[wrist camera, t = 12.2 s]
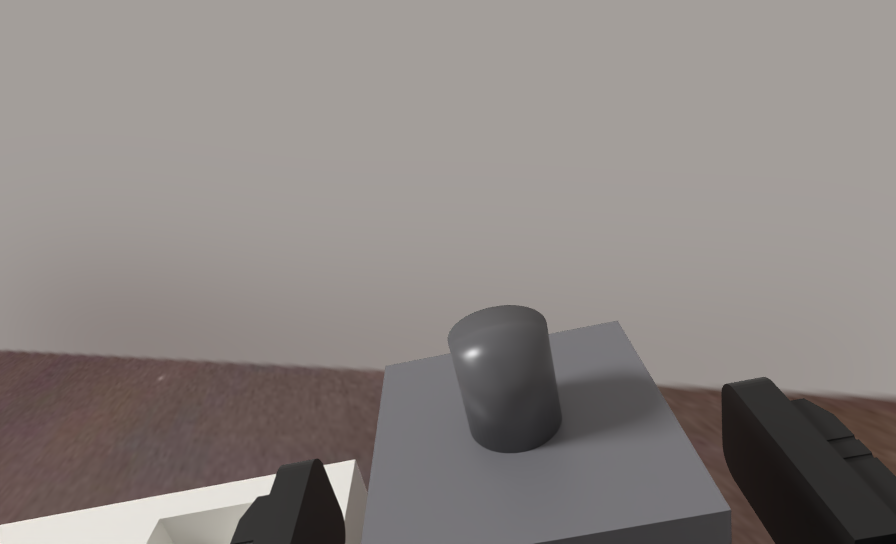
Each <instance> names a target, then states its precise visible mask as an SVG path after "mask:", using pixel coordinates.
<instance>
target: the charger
mask: <svg viewBox="0 0 896 544" xmlns="http://www.w3.org/2000/svg"><path fill="white" fill-rule="evenodd" d="M448 344H449V348H450V352H451V353H450V354H445V355H440V356H435V357H429V358H424V359H419V360H414V361H409V362H404V363H399V364H394V365H389V366H386V368H385V375H384V382H383V389H382V396H381V403H380V411H379V418H378V425H377V432H376V439H375V446H374V453H373V461H372V468H371V475H370V482H369V489H368V496H367V504H366V511H365V518H364V525H363V532H362V539H361V544H732V543H731V509H730V507H729V506H728V504H727V502H726V501H725V499H724V497H723V496H722V494H721V492H720V491H719V489H718V487H717V486H716V484H715V482H714V481H713V479H712V477H711V476H710V474H709V472H708V471H707V469H706V467H705V466H704V464H703V462H702V461H701V459H700V457H699V456H698V454H697V452H696V451H695V449H694V447H693V446H692V444H691V442H690V441H689V439H688V437H687V436H686V434H685V432H684V431H683V429H682V427H681V426H680V424H679V422H678V421H677V419H676V417H675V416H674V414H673V412H672V411H671V409H670V407H669V406H668V404H667V402H666V401H665V399H664V397H663V396H662V394H661V392H660V391H659V389H658V387H657V386H656V384H655V382H654V381H653V379H652V377H651V376H650V374H649V372H648V371H647V369H646V367H645V366H644V364H643V362H642V361H641V359H640V357H639V356H638V354H637V352H636V351H635V349H634V348H633V346H632V344H631V342H630V341H629V339H628V337H627V336H626V334H625V332H624V331H623V329H622V327H621V326H620V324H619V322H618V321H613V322H609V323H604V324H598V325H593V326H588V327H583V328H578V329H573V330H567V331H562V332H557V333H552V334H548V329H547V323H546V320H545V318H544V316H543V315H542V314H540V313H539V312H538V311H536V310H534V309H531V308H528V307H524V306H516V305H504V306H496V307H491V308H486V309H483V310H480V311H477V312H474V313H472V314H470V315H468V316H466V317H464V318H463V319H461V320H460V321H459V322H458V323H456V324H455V325H454V327H453V328H452V329H451V331H450V332H449V335H448Z"/></svg>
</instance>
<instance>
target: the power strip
mask: <svg viewBox="0 0 896 544" xmlns="http://www.w3.org/2000/svg"><path fill="white" fill-rule="evenodd" d="M324 468H325V470H326V473H327V475H328V478H329V480H330V483H331V485H332V488H333V490H334V493H335V495H336V498H337V500H338V503H339V505H340V508H341V510H342V513H343V517H344V522H345V532H346V540H345V544H361V539H362V532H363V525H364V518H365V511H366V504H367V496H368V493H367V490H366V487H365V485H364V482H363V479H362V476H361V474H360V471H359V468H358V465H357V463H356V460H350V461H344V462H339V463H334V464H328V465H324ZM275 477H276V474H274V475H269V476H263V477H258V478H252V479H247V480H241V481H236V482H231V483H225V484H220V485H214V486H209V487H204V488H198V489H193V490H187V491H182V492H177V493H171V494H166V495H160V496H155V497H149V498H144V499H139V500H133V501H128V502H122V503H117V504H112V505H106V506H101V507H95V508H90V509H85V510H79V511H74V512H68V513H63V514H57V515H52V516H47V517H41V518H36V519H30V520H25V521H20V522H14V523H9V524H3V525H0V544H230V543H231V540H232V537H233V535H234V532H235V530H236V527H237V524H238V522H239V519H240V518H241V517H242V516H243V514H244V513H245V512H246V511H247V509H248V508H249V507H250V506H251V504H252V503H253V502H254V501H255V499H256V498H257V497H259V496H264V495H269V494H270V491H271V488H272V485H273V483H274V480H275Z"/></svg>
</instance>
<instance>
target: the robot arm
mask: <svg viewBox="0 0 896 544" xmlns="http://www.w3.org/2000/svg"><path fill="white" fill-rule="evenodd" d="M722 440H723V451H724V456H725V460H726V463H727V466H728V468H729V470H730V473H731V475H732V477H733V478H734V480H735V482H736V483H737V485H738V486H739V488H740V489H741V491H742V493H743V494H744V496H745V497H746V499H747V500H748V502H749V503H750V505H751V506H752V508H753V510H754V511H755V513H756V514H757V516H758V517H759V519H760V520H761V522H762V523H763V525H764V527H765V528H766V530H767V531H768V533H769V534H770V536H771V537H772V539H773V541H774V542H775V544H896V476H895V475H894V474H893V473H892V472H891V471H890V470H889V469H888V468H887V467H886V466H885V465H884V464H883V463H882V462H881V461H880V460H879V459H878V458H877V457H876V458H874V457H873V455H872V452H871V451H870V450H869V449H868V448H867V447H866V446H865V445H864V444H863V443H862V442H861V441H860V440H859V439H858V440H856V439H855V437H854V434H853V433H852V432H851V431H850V430H849V429H848V428H847V427H846V426H845V425H844V424H843V423H842V422H841V421H840V420H839V419H838V418H837V417H836V416H835V415H834V414H832V413H830V412H828V411H826V410H824V409H823V408H821V407H819V406H817V405H815V404H813V403H811V402H810V401H808V400H806V399H804V398H803V399H798V400H792V401H790V400H789V399H788V398H787V397H786V396H785V395H784V394H783V393H782V392H781V391H780V389H779V388H778V387H777V386H776V385H775V384H774V383H773V382H772V381H771V380H770V379H768V378H766V377H761V378H755V379H751V380H745V381H739V382H734V383H729V384H725V385H724V386H723V388H722ZM345 540H346V532H345V522H344V517H343V513H342V510H341V508H340V505H339V503H338V500H337V498H336V495H335V493H334V490H333V488H332V485H331V483H330V480H329V478H328V475H327V473H326V470H325V468H324V465H323V463H322V462H321V461H320V460H319V459H313V460H307V461H302V462H297V463H291V464H286V465H282V466H281V467H280V468H279V469H278V471H277V474H276V477H275V480H274V483H273V485H272V488H271V491H270V494H269V495H264V496H259V497H257V498H256V499H255V501H254V502H253V503H252V504H251V506H250V507H249V508H248V509H247V511H246V512H245V513H244V514H243V516H242V517H241V518H240V519H239V522H238V524H237V527H236V530H235V532H234V535H233V537H232V540H231V543H230V544H345Z"/></svg>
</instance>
